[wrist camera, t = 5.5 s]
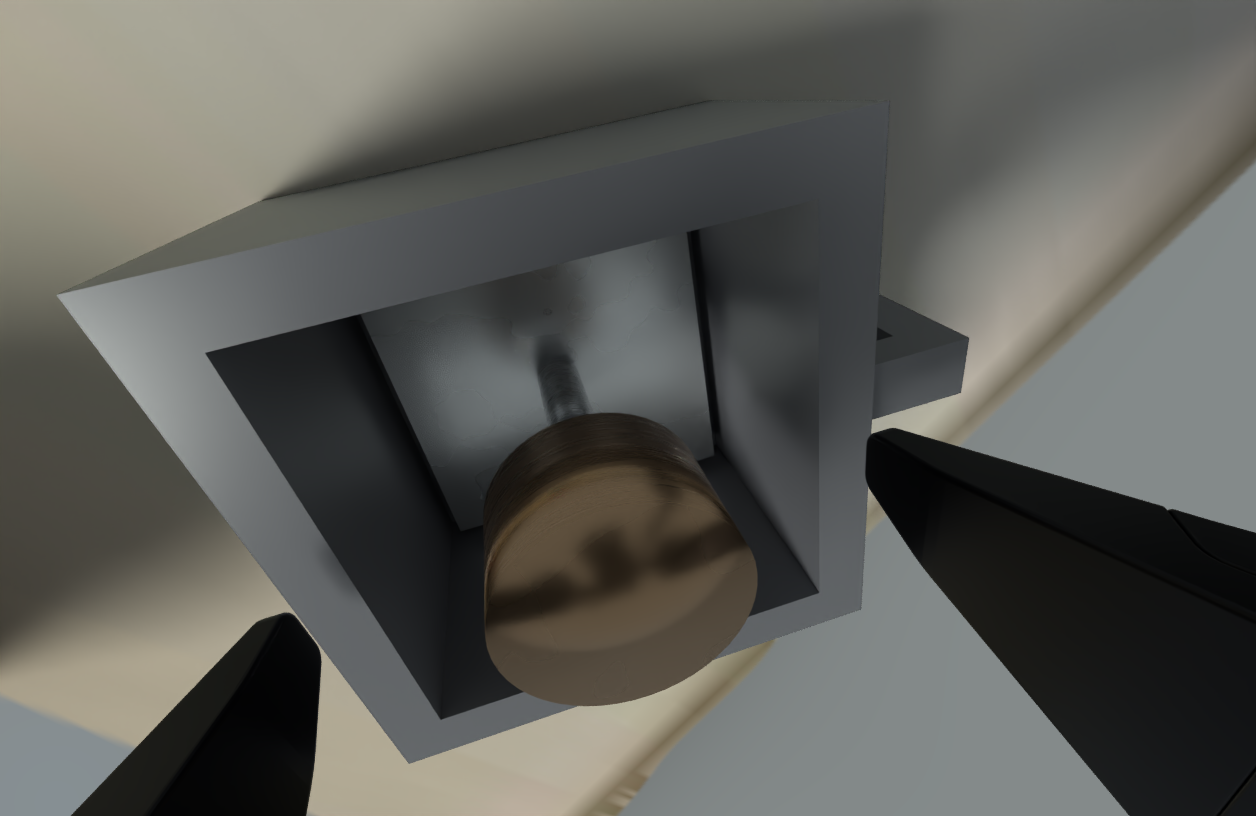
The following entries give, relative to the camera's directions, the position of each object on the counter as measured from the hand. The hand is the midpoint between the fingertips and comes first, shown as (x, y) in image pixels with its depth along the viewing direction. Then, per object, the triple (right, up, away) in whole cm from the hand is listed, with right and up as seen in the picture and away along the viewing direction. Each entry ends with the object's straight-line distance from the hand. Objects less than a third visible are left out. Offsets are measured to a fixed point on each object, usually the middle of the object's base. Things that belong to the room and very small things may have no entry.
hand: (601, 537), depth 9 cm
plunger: (-1, +3, +5) cm, 6 cm away
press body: (0, +4, +6) cm, 7 cm away
